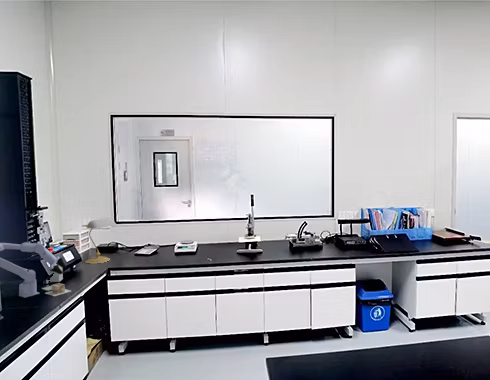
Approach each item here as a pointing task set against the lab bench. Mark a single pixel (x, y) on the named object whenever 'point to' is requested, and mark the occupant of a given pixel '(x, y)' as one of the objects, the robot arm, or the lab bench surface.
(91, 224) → the desk lamp
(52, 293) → the card
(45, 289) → the sage pad
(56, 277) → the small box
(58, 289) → the beech block
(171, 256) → the lab bench surface
